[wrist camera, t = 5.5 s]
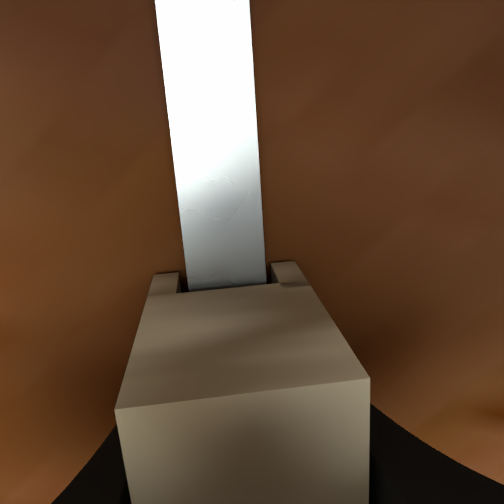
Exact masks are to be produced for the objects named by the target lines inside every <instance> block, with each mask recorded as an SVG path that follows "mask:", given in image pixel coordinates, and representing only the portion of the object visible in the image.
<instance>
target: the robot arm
mask: <svg viewBox="0 0 504 504" xmlns="http://www.w3.org/2000/svg"><path fill="white" fill-rule="evenodd" d="M51 504H132V503H131V498H130V493H129V487H128V482H127V476H126V471H125V465H124V460H123V454H122V449H121V444H120V438H119V433H118V427H117V424H116V426H115V427H114V428H113V430H112V431H111V433H110V434H109V435H108V437H107V438H106V439H105V441H104V442H103V443H102V445H101V446H100V447H99V449H98V450H97V451H96V452H95V454H94V455H93V456H92V458H91V459H90V460H89V461H88V463H87V464H86V465H85V466H84V467H83V469H82V470H81V471H80V472H79V473H78V474H77V476H76V477H75V478H74V479H73V480H72V482H71V483H70V484H69V485H68V486H67V487H66V488H65V489H64V491H63V492H62V493H61V494H60V495H59V496H58V497H57V498H56V499H55V500H54V501H53V502H52V503H51ZM369 504H504V485H502V484H500V483H498V482H496V481H494V480H492V479H490V478H488V477H486V476H484V475H482V474H479V473H477V472H475V471H473V470H471V469H469V468H468V467H466V466H464V465H462V464H460V463H458V462H456V461H455V460H453V459H451V458H449V457H448V456H446V455H444V454H443V453H441V452H439V451H437V450H436V449H434V448H432V447H431V446H429V445H428V444H426V443H424V442H423V441H421V440H420V439H418V438H417V437H415V436H414V435H412V434H411V433H409V432H408V431H407V430H405V429H404V428H402V427H401V426H399V425H398V424H397V423H395V422H394V421H393V420H391V419H390V418H389V417H387V416H386V415H385V414H383V413H382V412H381V411H379V410H378V409H377V408H376V407H374V406H373V405H372V404H371V403H370V441H369Z"/></svg>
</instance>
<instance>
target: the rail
mask: <svg viewBox="0 0 504 504" xmlns="http://www.w3.org/2000/svg"><path fill="white" fill-rule="evenodd" d="M155 5H156V14H157V23H158V31H159V40H160V48H161V57H162V65H163V74H164V83H165V91H166V100H167V108H168V117H169V126H170V134H171V143H172V151H173V160H174V169H175V177H176V186H177V194H178V203H179V211H180V220H181V229H182V237H183V246H184V254H185V263H186V272H187V280H188V289H189V292H197V291H206V290H216V289H226V288H236V287H245V286H255V285H265V284H267V283H266V266H265V250H264V234H263V218H262V202H261V185H260V169H259V153H258V137H257V120H256V104H255V88H254V72H253V56H252V39H251V23H250V7H249V0H155Z"/></svg>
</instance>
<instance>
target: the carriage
mask: <svg viewBox="0 0 504 504" xmlns="http://www.w3.org/2000/svg"><path fill="white" fill-rule="evenodd" d="M270 264H271V281H272V284H265V285H255V286H245V287H236V288H226V289H216V290H206V291H197V292H187V293H181V286H180V278H179V272H176V273H166V274H156V275H153V279H152V282H151V286H150V289H149V292H148V296H147V299H146V303H145V306H144V309H143V313H142V316H141V320H140V323H139V327H138V330H137V333H136V337H135V340H134V344H133V347H132V351H131V354H130V357H129V361H128V364H127V368H126V371H125V375H124V378H123V381H122V385H121V388H120V392H119V395H118V398H117V402H116V405H115V409H114V411H115V416H116V422H117V427H118V433H119V438H120V444H121V449H122V454H123V460H124V465H125V471H126V476H127V482H128V487H129V493H130V498H131V503H132V504H369V441H370V377H369V376H368V374H367V372H366V371H365V369H364V368H363V366H362V365H361V363H360V362H359V360H358V359H357V357H356V355H355V354H354V352H353V351H352V349H351V348H350V346H349V345H348V343H347V341H346V340H345V338H344V337H343V335H342V334H341V332H340V331H339V329H338V327H337V326H336V324H335V323H334V321H333V320H332V318H331V317H330V315H329V313H328V312H327V310H326V309H325V307H324V306H323V304H322V303H321V301H320V299H319V298H318V296H317V295H316V293H315V292H314V290H313V289H312V287H311V286H310V284H309V282H308V281H307V279H306V278H305V276H304V275H303V273H302V272H301V270H300V268H299V267H298V265H297V264H296V262H295V261H288V262H278V263H270Z"/></svg>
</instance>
